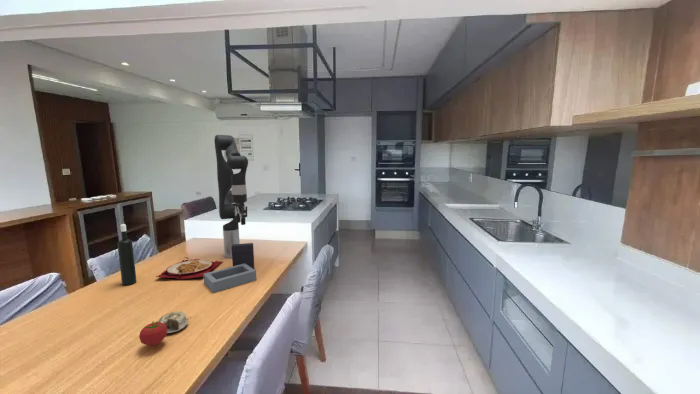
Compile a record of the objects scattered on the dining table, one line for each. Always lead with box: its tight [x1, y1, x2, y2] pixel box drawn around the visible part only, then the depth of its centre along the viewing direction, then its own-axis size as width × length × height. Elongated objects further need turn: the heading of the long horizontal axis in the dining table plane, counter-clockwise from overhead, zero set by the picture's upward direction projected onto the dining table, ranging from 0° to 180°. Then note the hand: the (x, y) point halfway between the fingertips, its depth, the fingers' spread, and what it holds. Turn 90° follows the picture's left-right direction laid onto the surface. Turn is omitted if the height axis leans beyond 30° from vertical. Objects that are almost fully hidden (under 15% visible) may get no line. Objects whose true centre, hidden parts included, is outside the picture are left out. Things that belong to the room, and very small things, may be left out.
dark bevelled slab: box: [231, 242, 255, 270], centre depth 159 cm, size 11×4×15 cm, turn 105°
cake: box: [158, 310, 189, 334], centre depth 108 cm, size 10×10×5 cm
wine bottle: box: [117, 223, 137, 286], centre depth 143 cm, size 6×6×30 cm
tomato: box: [138, 320, 168, 347], centre depth 97 cm, size 8×8×8 cm
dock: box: [203, 263, 257, 294], centre depth 145 cm, size 14×21×5 cm, turn 132°
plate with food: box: [155, 256, 224, 280], centre depth 160 cm, size 24×26×3 cm
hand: (240, 223), depth 157 cm, fingers open, 6 cm apart
